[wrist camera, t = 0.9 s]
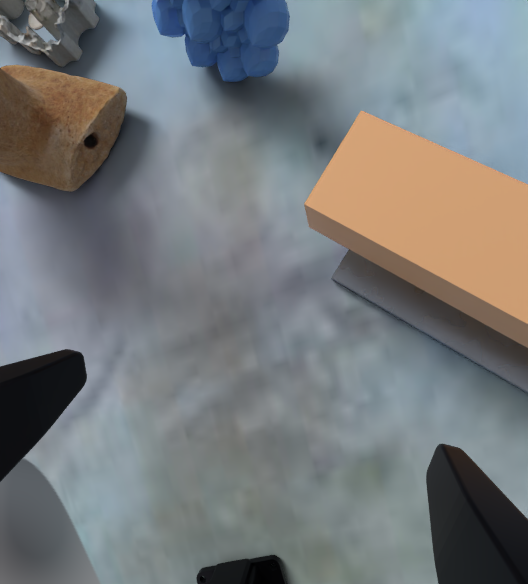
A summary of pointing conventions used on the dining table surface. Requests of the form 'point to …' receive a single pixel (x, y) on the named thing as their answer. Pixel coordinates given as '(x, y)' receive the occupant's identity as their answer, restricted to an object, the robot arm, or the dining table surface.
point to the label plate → (436, 318)
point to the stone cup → (56, 125)
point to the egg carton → (49, 26)
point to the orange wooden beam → (429, 220)
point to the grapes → (227, 33)
